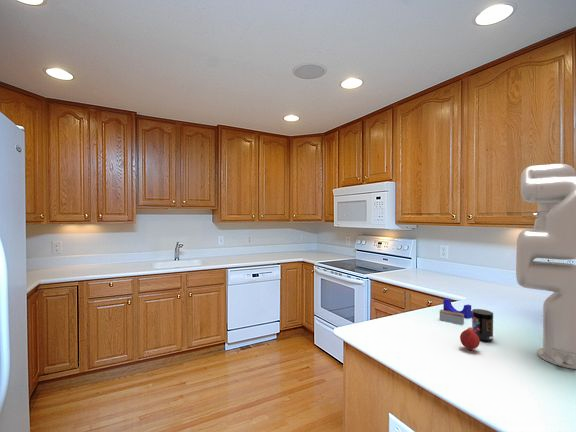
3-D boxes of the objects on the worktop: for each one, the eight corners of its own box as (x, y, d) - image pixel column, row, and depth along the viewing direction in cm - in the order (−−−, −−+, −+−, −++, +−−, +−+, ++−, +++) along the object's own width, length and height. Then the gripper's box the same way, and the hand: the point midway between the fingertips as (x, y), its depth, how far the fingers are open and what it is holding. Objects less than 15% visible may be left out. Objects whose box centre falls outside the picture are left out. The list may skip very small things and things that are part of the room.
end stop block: (462, 325, 123) (462, 315, 123) (439, 320, 129) (439, 311, 129) (464, 323, 125) (464, 314, 125) (441, 318, 131) (441, 309, 131)
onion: (472, 355, 96) (472, 331, 96) (456, 348, 102) (456, 325, 102) (483, 352, 99) (483, 329, 99) (467, 345, 104) (467, 323, 104)
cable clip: (473, 317, 133) (473, 304, 133) (467, 319, 131) (467, 306, 131) (449, 310, 144) (449, 298, 144) (443, 311, 142) (443, 299, 142)
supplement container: (476, 333, 114) (476, 307, 114) (496, 340, 108) (496, 312, 108) (468, 338, 110) (468, 311, 110) (488, 344, 105) (489, 316, 105)
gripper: (523, 215, 131) (523, 253, 131) (576, 215, 120) (576, 256, 120) (524, 215, 137) (524, 251, 137) (575, 215, 125) (575, 254, 125)
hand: (548, 253), depth 128 cm, fingers open, 9 cm apart
